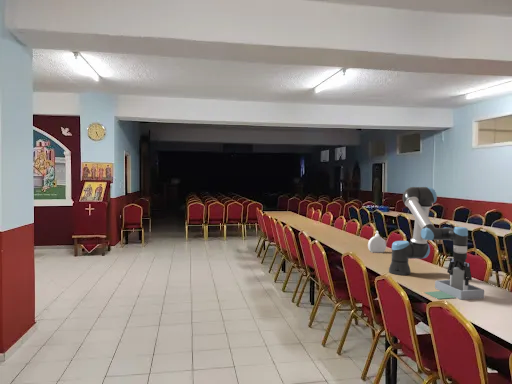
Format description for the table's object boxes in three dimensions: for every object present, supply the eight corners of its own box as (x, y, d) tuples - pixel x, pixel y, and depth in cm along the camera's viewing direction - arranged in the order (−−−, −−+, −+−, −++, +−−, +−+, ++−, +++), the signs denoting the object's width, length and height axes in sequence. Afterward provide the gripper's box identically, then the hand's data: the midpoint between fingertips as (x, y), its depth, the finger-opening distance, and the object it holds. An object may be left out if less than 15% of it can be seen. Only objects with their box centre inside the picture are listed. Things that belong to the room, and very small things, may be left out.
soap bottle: (383, 251, 348) (384, 230, 347) (386, 252, 343) (386, 231, 342) (367, 251, 347) (368, 230, 346) (369, 252, 342) (370, 231, 341)
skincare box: (453, 290, 231) (454, 265, 230) (466, 292, 226) (467, 267, 226) (450, 293, 224) (451, 268, 224) (463, 295, 220) (464, 270, 219)
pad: (424, 292, 225) (424, 292, 225) (441, 291, 227) (441, 291, 227) (438, 299, 213) (438, 298, 213) (455, 298, 216) (455, 297, 216)
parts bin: (434, 288, 234) (435, 280, 234) (456, 286, 238) (456, 279, 238) (461, 299, 213) (461, 291, 213) (483, 298, 216) (484, 289, 216)
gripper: (441, 248, 234) (440, 282, 236) (469, 256, 212) (467, 293, 214) (451, 248, 236) (450, 282, 237) (480, 256, 214) (478, 293, 215)
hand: (458, 287), depth 225 cm, fingers closed on skincare box, 10 cm apart
